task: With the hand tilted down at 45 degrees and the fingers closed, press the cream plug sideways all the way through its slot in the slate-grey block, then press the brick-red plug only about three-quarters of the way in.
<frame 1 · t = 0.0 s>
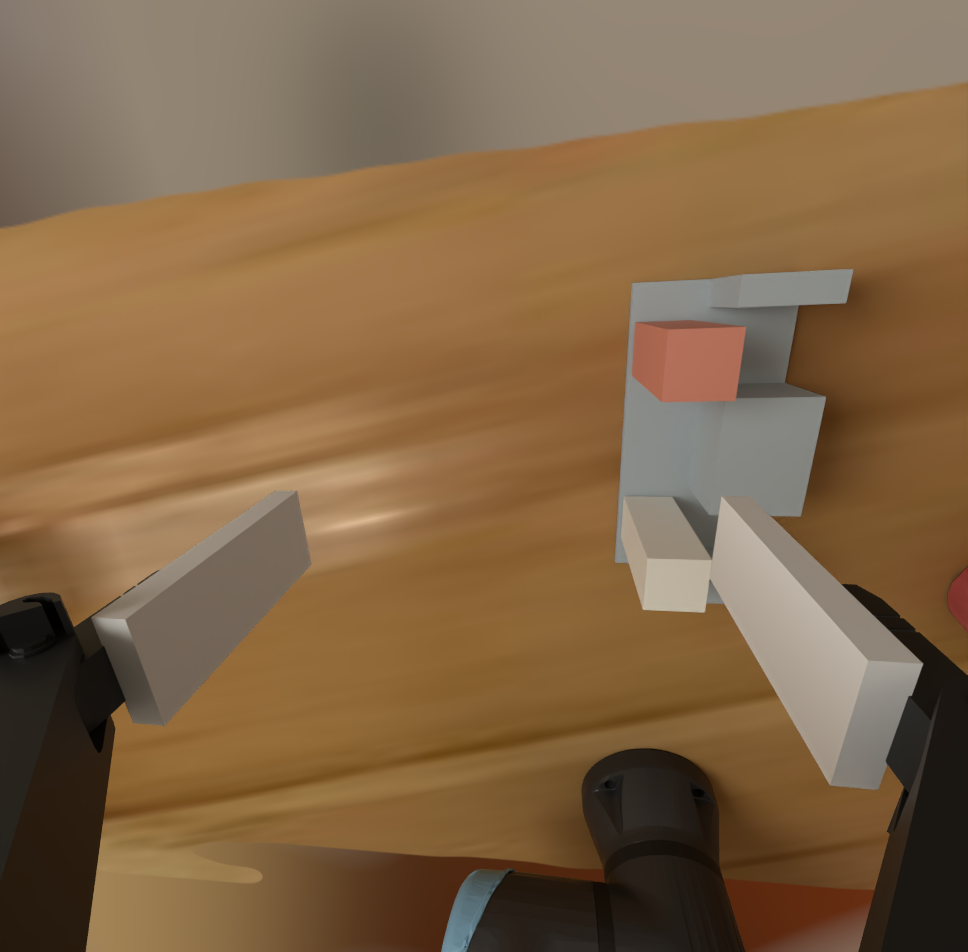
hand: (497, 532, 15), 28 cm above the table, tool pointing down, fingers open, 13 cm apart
slot block: (695, 435, 40), on the table
red plug: (678, 355, 32), point 6 cm above the table, slide at 0.0 cm
cream plug: (659, 547, 37), point 6 cm above the table, slide at 0.0 cm
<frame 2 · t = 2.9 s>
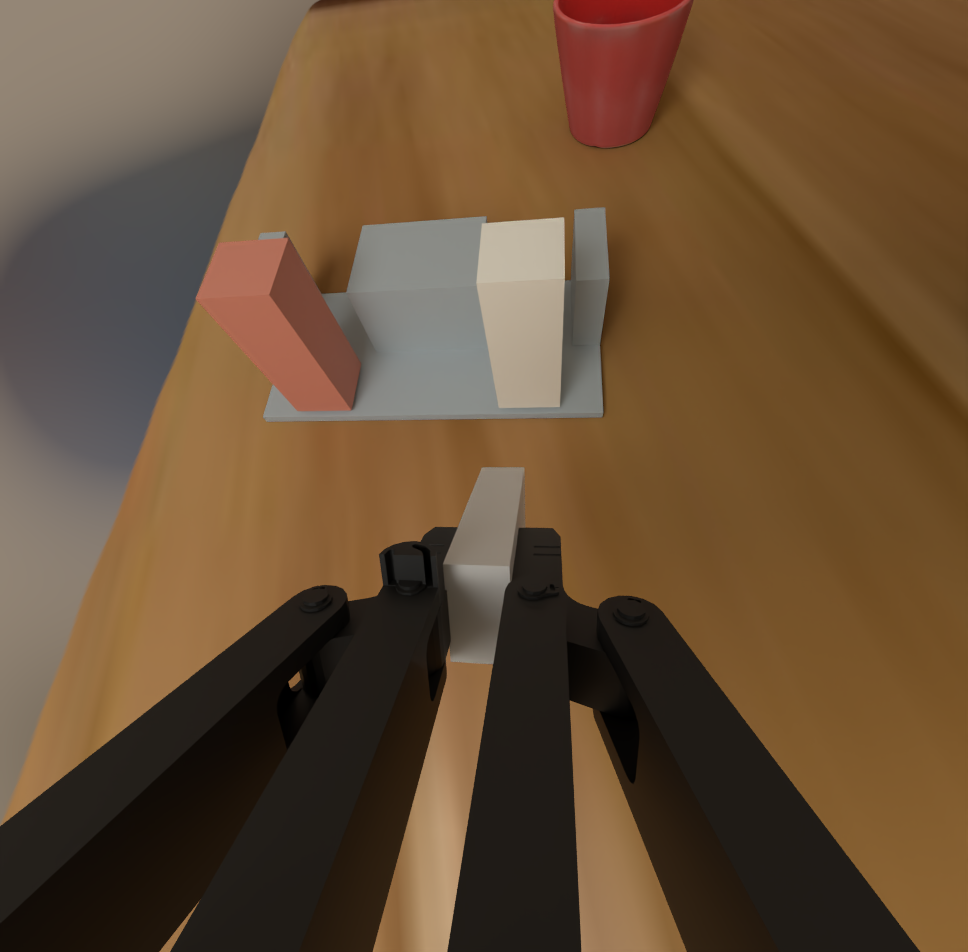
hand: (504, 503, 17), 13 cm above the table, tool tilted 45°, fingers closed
slot block: (434, 351, 36), on the table
red plug: (293, 337, 30), point 6 cm above the table, slide at 0.0 cm
cream plug: (526, 327, 28), point 6 cm above the table, slide at 0.0 cm
flower pot: (609, 127, 45), on the table
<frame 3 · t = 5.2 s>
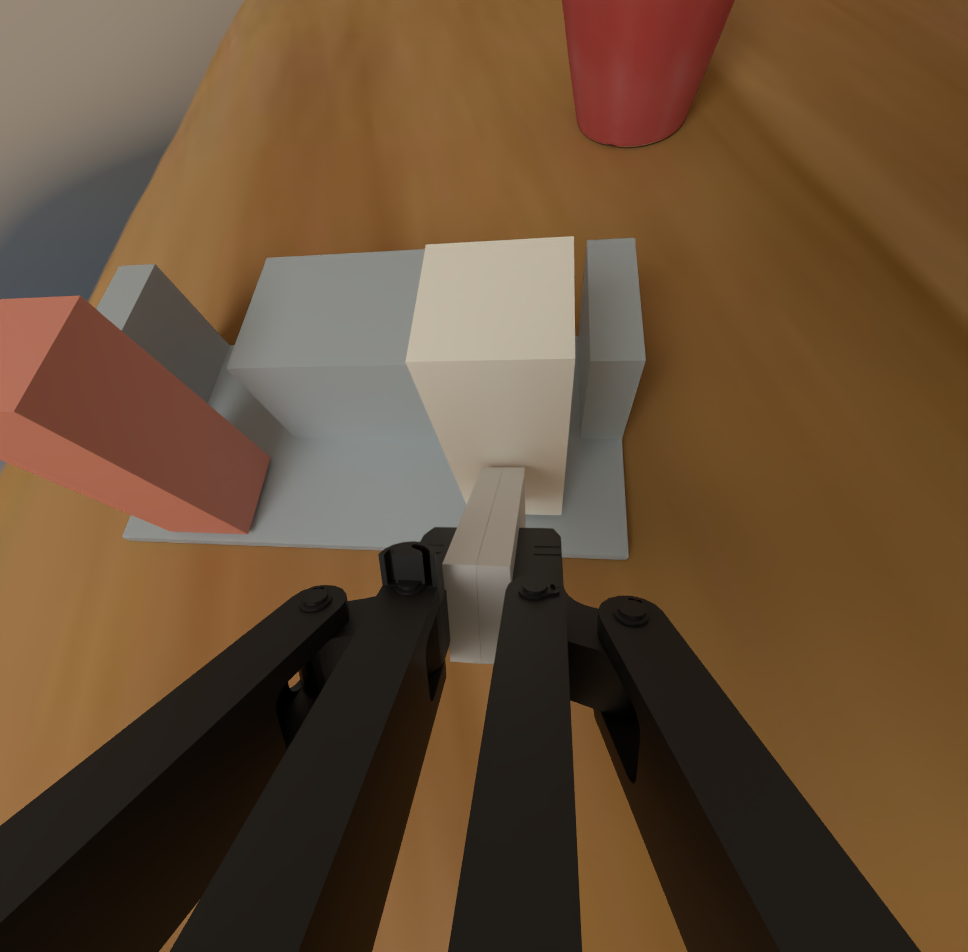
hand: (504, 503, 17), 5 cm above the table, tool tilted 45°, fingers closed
slot block: (380, 438, 25), on the table
red plug: (136, 441, 19), point 6 cm above the table, slide at 0.0 cm
cream plug: (508, 409, 17), point 6 cm above the table, slide at 1.4 cm, touching gripper
flower pot: (629, 119, 34), on the table
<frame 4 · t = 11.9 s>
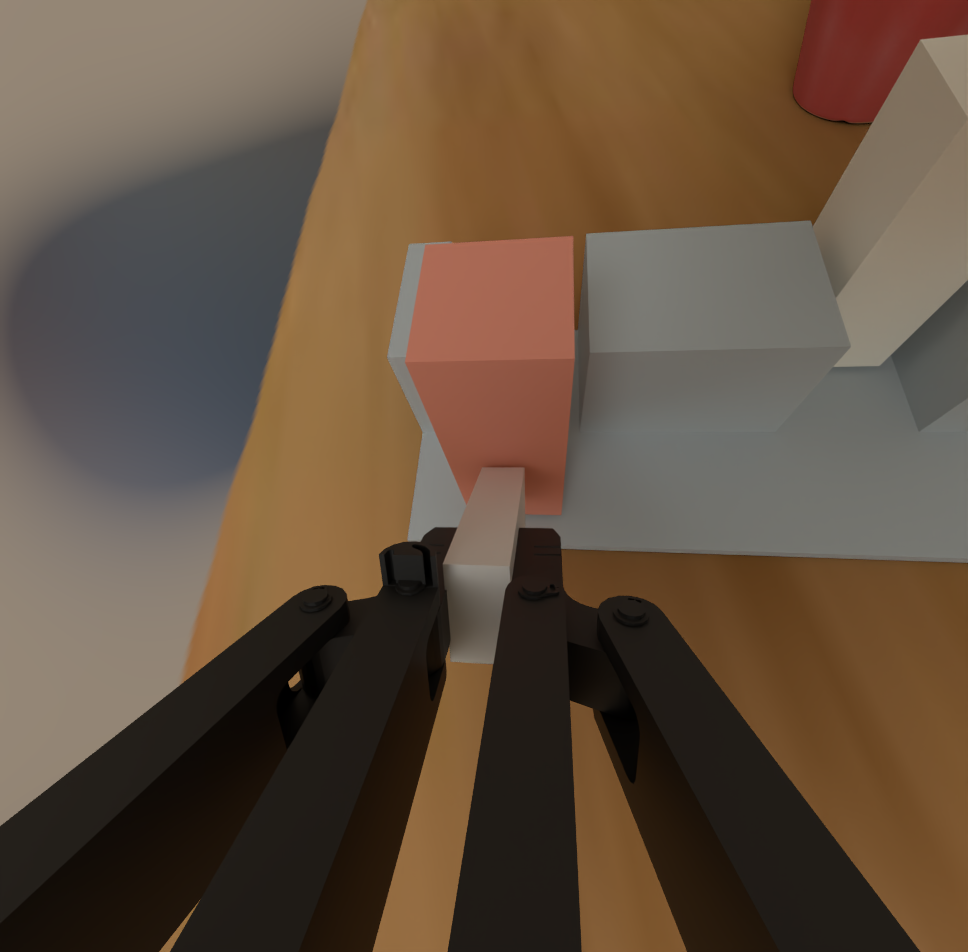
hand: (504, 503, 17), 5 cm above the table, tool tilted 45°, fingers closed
slot block: (671, 432, 23), on the table
red plug: (508, 409, 17), point 6 cm above the table, slide at 1.0 cm, touching gripper
cream plug: (895, 236, 18), point 6 cm above the table, slide at 9.0 cm
flower pot: (849, 95, 32), on the table
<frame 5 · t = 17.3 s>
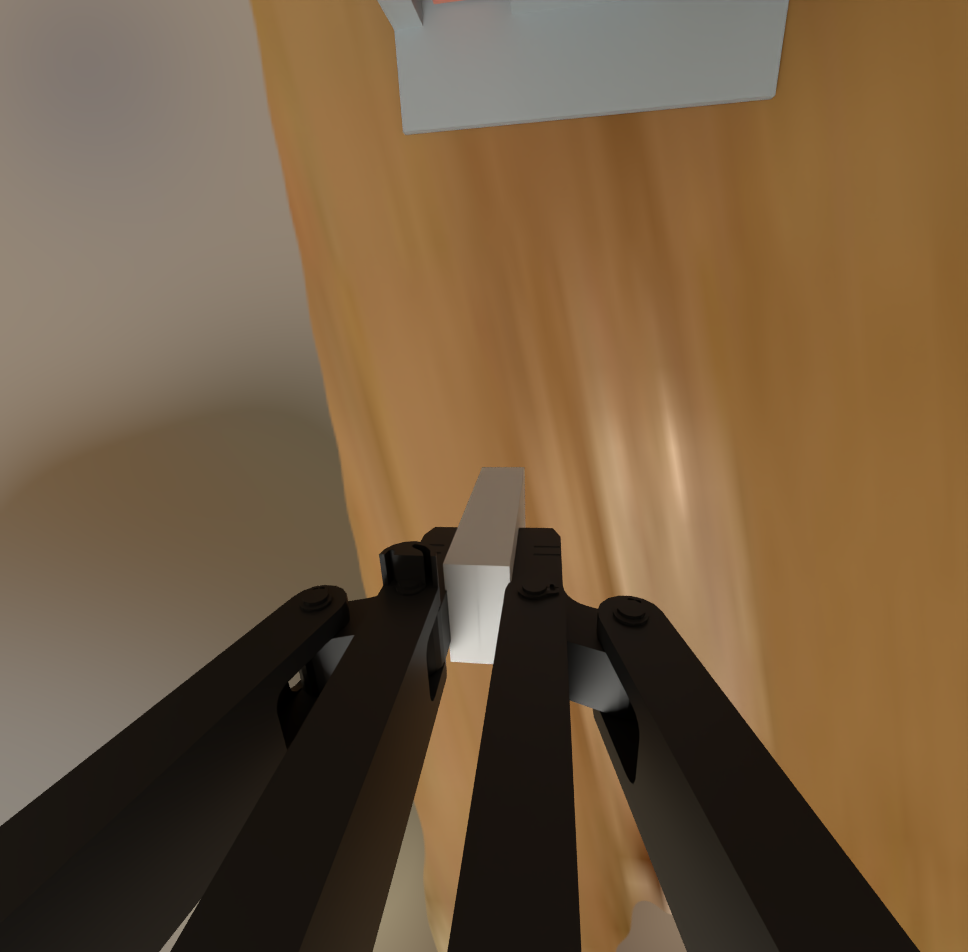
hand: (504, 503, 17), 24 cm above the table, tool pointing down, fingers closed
slot block: (581, 4, 30), on the table
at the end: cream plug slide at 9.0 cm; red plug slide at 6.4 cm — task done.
